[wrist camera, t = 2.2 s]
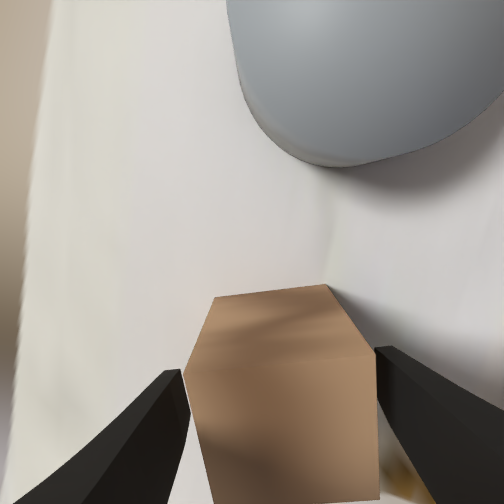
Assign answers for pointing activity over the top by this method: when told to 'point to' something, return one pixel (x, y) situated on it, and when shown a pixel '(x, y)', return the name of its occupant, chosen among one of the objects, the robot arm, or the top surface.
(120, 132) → the top surface
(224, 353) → the walnut block
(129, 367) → the top surface
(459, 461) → the robot arm
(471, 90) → the grey rounded dome
